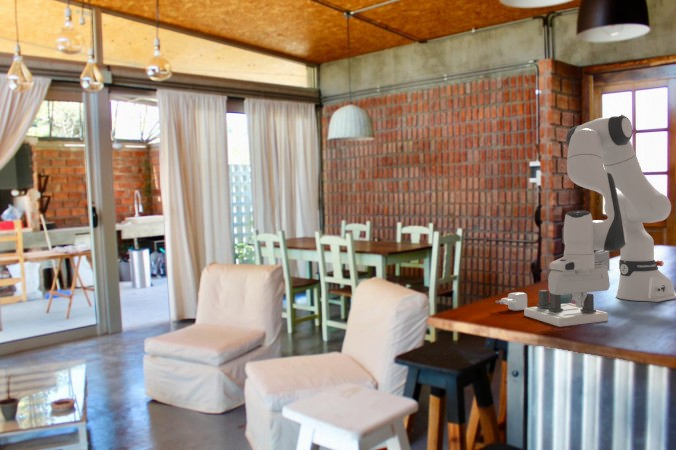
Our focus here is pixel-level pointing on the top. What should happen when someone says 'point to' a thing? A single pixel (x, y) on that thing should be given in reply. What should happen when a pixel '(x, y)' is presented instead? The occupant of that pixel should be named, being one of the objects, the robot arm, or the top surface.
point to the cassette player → (602, 257)
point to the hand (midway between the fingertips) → (579, 306)
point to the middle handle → (555, 303)
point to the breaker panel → (565, 315)
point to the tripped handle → (588, 304)
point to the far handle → (543, 299)
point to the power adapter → (515, 301)
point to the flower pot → (565, 297)
